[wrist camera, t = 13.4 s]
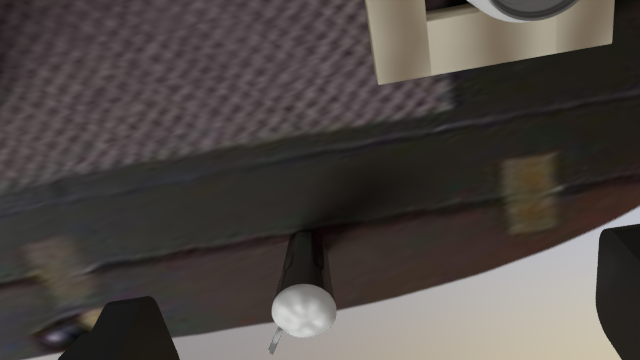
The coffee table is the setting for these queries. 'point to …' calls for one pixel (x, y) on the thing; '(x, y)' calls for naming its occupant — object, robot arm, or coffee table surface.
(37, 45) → the coffee table surface
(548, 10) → the can
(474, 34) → the socket block
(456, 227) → the coffee table surface
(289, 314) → the milkshake
